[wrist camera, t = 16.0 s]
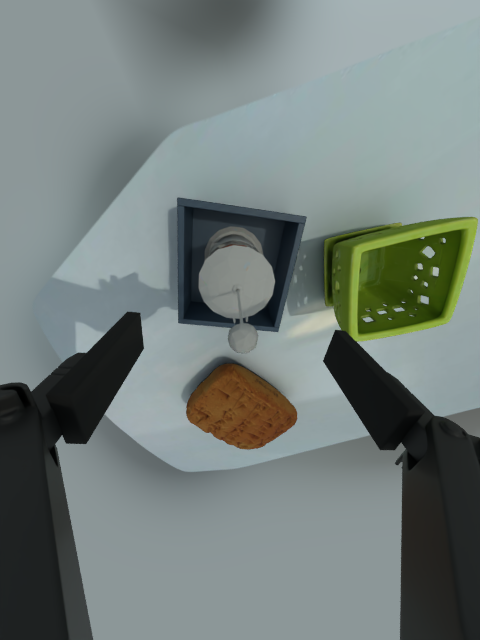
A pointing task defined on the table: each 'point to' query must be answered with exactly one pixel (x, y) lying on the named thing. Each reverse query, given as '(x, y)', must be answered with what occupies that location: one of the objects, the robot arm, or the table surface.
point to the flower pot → (397, 276)
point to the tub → (277, 245)
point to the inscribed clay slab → (240, 408)
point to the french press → (236, 282)
